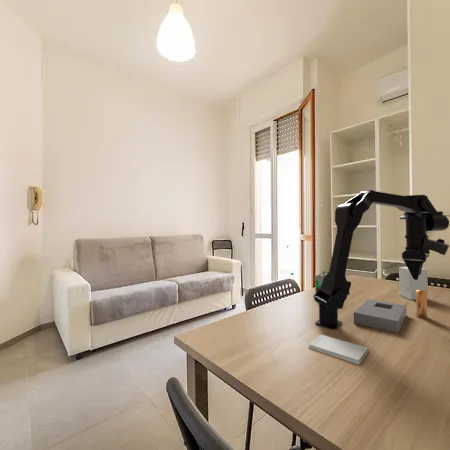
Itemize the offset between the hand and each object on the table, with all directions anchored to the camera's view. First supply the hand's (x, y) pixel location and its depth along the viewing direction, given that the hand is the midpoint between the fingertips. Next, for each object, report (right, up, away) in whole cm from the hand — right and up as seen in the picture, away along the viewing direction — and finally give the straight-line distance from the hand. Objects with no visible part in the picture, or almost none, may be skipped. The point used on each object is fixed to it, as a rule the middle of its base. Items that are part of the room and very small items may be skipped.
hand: (417, 277), depth 89 cm
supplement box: (+14, -13, +21) cm, 29 cm away
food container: (-21, -14, +25) cm, 36 cm away
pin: (+1, -13, -1) cm, 14 cm away
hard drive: (-37, -15, -22) cm, 45 cm away
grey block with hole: (-14, -14, -2) cm, 20 cm away
